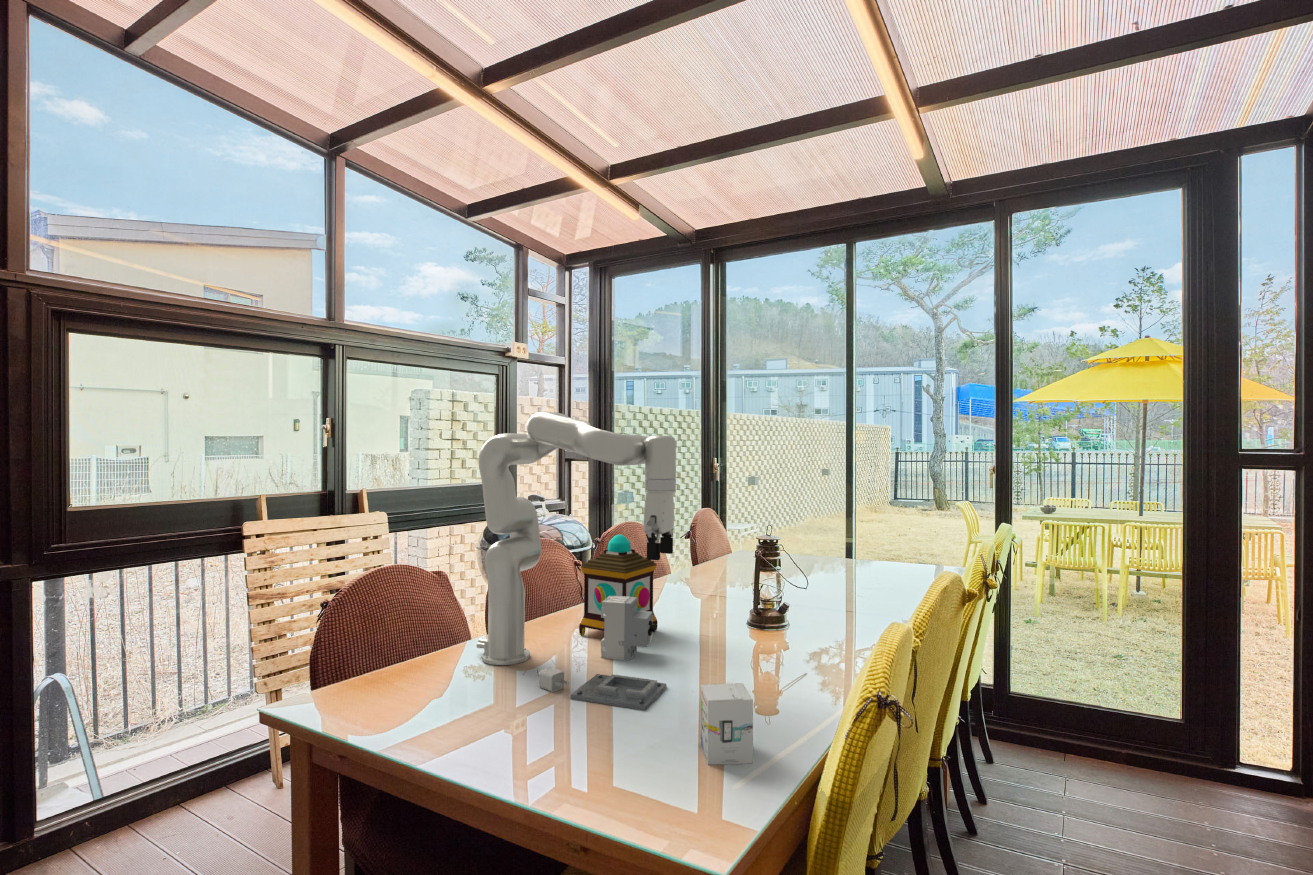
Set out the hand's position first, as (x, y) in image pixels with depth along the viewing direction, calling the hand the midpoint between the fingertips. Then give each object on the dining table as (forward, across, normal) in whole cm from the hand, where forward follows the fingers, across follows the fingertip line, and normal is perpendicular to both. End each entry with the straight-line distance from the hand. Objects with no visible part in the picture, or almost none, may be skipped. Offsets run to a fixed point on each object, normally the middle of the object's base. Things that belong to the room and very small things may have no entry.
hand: (660, 556), depth 160 cm
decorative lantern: (+30, -33, -25) cm, 51 cm away
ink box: (+30, +31, +24) cm, 50 cm away
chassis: (+30, +11, -6) cm, 33 cm away
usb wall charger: (+30, +14, -21) cm, 39 cm away
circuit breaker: (+30, -15, -14) cm, 36 cm away
